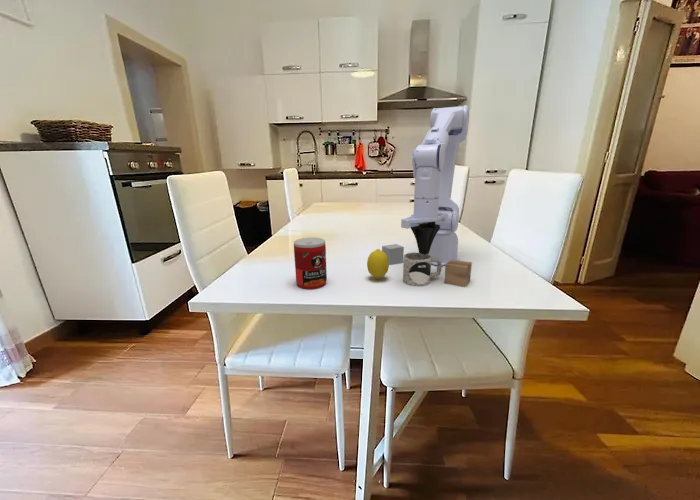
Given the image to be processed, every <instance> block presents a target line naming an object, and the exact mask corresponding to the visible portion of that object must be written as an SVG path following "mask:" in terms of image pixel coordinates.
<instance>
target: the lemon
mask: <svg viewBox="0 0 700 500" xmlns="http://www.w3.org/2000/svg"><path fill="white" fill-rule="evenodd" d="M366 261H367V262H366V263H367V264H366V267H367V270H368V271H367V272H368V273H369V274H370V275H371V276H372V277H375V279H377V280H380V279H381V278H383V277H384V276H385V275H386V274H387V273H388V271H389V266H390V265H389V261H388V257H387V255H386V254H385V253H384V252H383V251H382V249H379V248H377V249H376V250H373V251H372V252H370V253H369V255H368V257H367V260H366Z"/></svg>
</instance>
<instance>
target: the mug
mask: <svg viewBox="0 0 700 500" xmlns="http://www.w3.org/2000/svg"><path fill="white" fill-rule="evenodd" d="M431 262H437V264H438V266H437V268H436V271H435V272H431V271H432V270H431V269H432V264H431ZM441 272H442V264H441V259H439V258H433V257H431V256H430V255H428V254H426V255H425V254H421V253H419V252H408V253H405V254H404V256H403V272H402V282H403V283H404V284H406V285H408V286H410V287H424V286H428V285H430V283H431V279H433V278H435V277H438V276H440V275H441Z"/></svg>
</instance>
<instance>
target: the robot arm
mask: <svg viewBox="0 0 700 500" xmlns="http://www.w3.org/2000/svg"><path fill="white" fill-rule="evenodd" d="M429 117H430V119H429V120H430V121H429V125H430V129H429V130H428V131H427V132H426V134H425V136H424V138H423V139H422V140H423V141H422V142H421V144H418V145H417V147H414V148H413V151H412V157H411V161H412V170H413V171H412V173H413V174H412V175H413V178H414V194H413V195H414V197H413V214H411V215H410V216H408V217H406V218H401V221H400V225H401V226H400V228H402V229H407V230H408V229H410V230H411V232H412V234H413V236H414V239H415V241H416V244H417V251H418V253H421V254H425V255H426V254H428V255H430V256H431V257H433V258H439V259H441V264H442V266H445V265H446V264H447V263H448V262H449V261H450V260H451V259H454V260H460V258H459V257H458V249H459V236H458V235H457V233H456V232H457V231H458V227H459V222H460V221H459V220H460V214H459V213H460V207H459V205H458V204H457V202H455V201H453V200H452V199H451V198H452V191H453V190H452V189H453V185H454V184H453V183H454V174H455V168H456V158H457V153H458V149H459V146H460V143H462V142H464V141H465V140H466V137H467V136H468V130H469V129H468V128H469V122H470V107H469V106H468V104H464V105H459V106H449V107H438V108H436V107H433V108H432V110H431V112H430V116H429ZM431 265H434V266H437V267H438V264H437V262H431Z"/></svg>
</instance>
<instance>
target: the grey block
mask: <svg viewBox="0 0 700 500" xmlns="http://www.w3.org/2000/svg"><path fill="white" fill-rule="evenodd" d="M404 248H405V247H404V246H403V245H400V244H398V243H393V244H386V245H382V246H381V251H383V252H384V253H385V254H386V255H387V257H388V261H389V266H393V265H399V264H404V255H405V254H404V250H405V249H404Z"/></svg>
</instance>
